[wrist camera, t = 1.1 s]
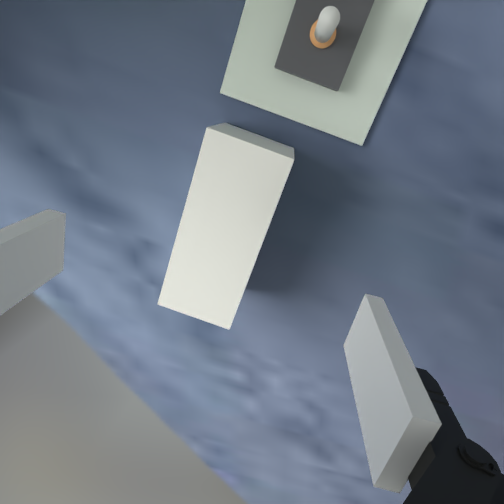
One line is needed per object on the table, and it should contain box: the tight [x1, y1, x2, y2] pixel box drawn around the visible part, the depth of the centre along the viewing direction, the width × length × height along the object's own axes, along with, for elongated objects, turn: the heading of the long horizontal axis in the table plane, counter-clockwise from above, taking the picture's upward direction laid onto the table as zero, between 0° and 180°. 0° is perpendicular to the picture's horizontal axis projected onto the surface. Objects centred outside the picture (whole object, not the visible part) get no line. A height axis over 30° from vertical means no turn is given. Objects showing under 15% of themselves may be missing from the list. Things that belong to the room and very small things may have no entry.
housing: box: [158, 123, 294, 329], centre depth 30 cm, size 14×6×7 cm, turn 161°
